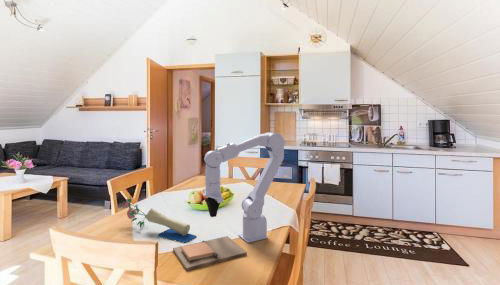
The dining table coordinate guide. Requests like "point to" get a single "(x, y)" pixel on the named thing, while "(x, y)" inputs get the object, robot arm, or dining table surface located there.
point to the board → (222, 252)
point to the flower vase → (157, 219)
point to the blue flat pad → (176, 236)
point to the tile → (197, 251)
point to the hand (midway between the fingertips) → (213, 216)
